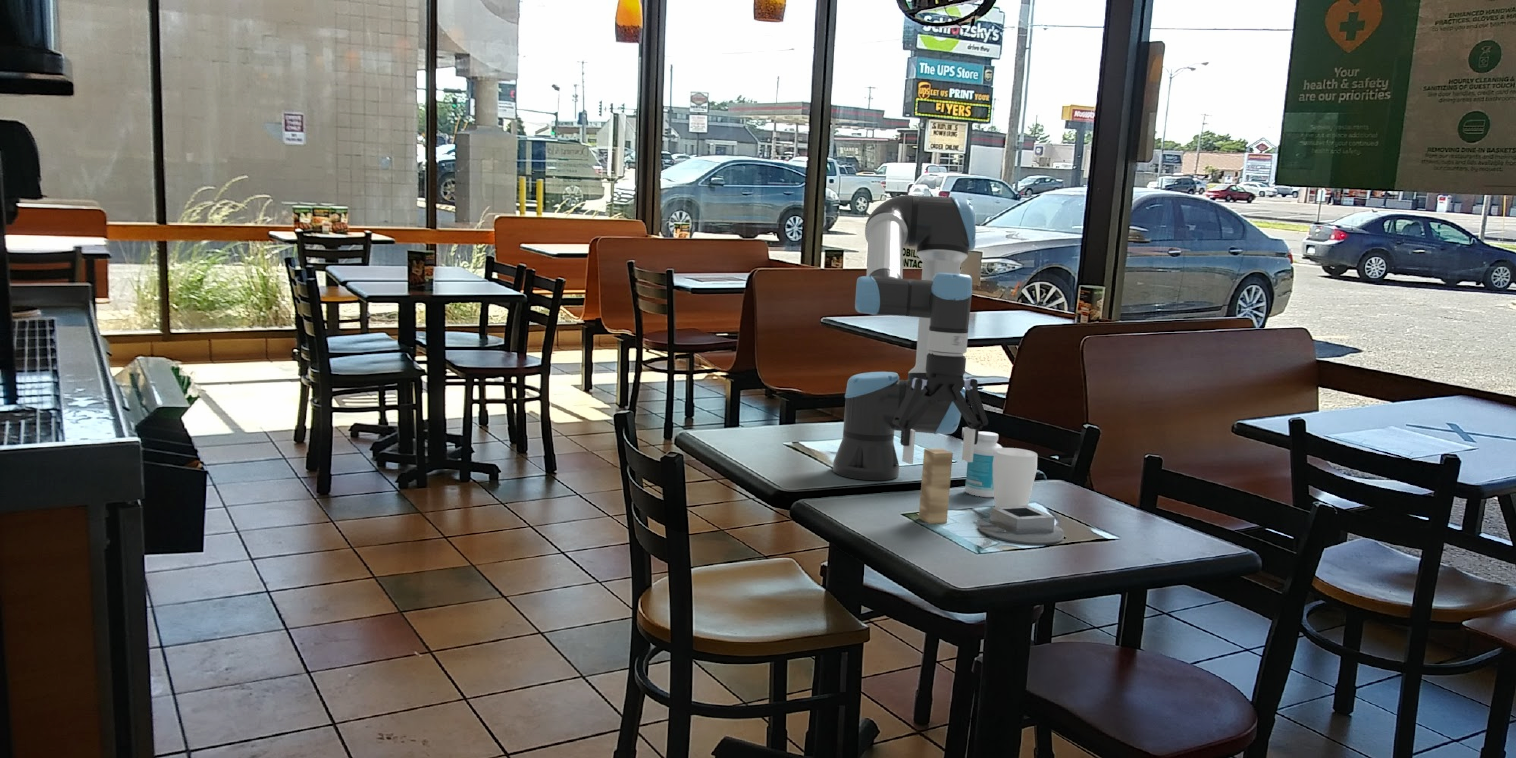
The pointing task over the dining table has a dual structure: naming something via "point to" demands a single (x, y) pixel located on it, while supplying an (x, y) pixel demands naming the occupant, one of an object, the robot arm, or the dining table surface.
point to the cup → (1013, 476)
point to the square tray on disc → (1021, 526)
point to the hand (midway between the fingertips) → (937, 461)
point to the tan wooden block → (935, 486)
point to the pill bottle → (982, 466)
